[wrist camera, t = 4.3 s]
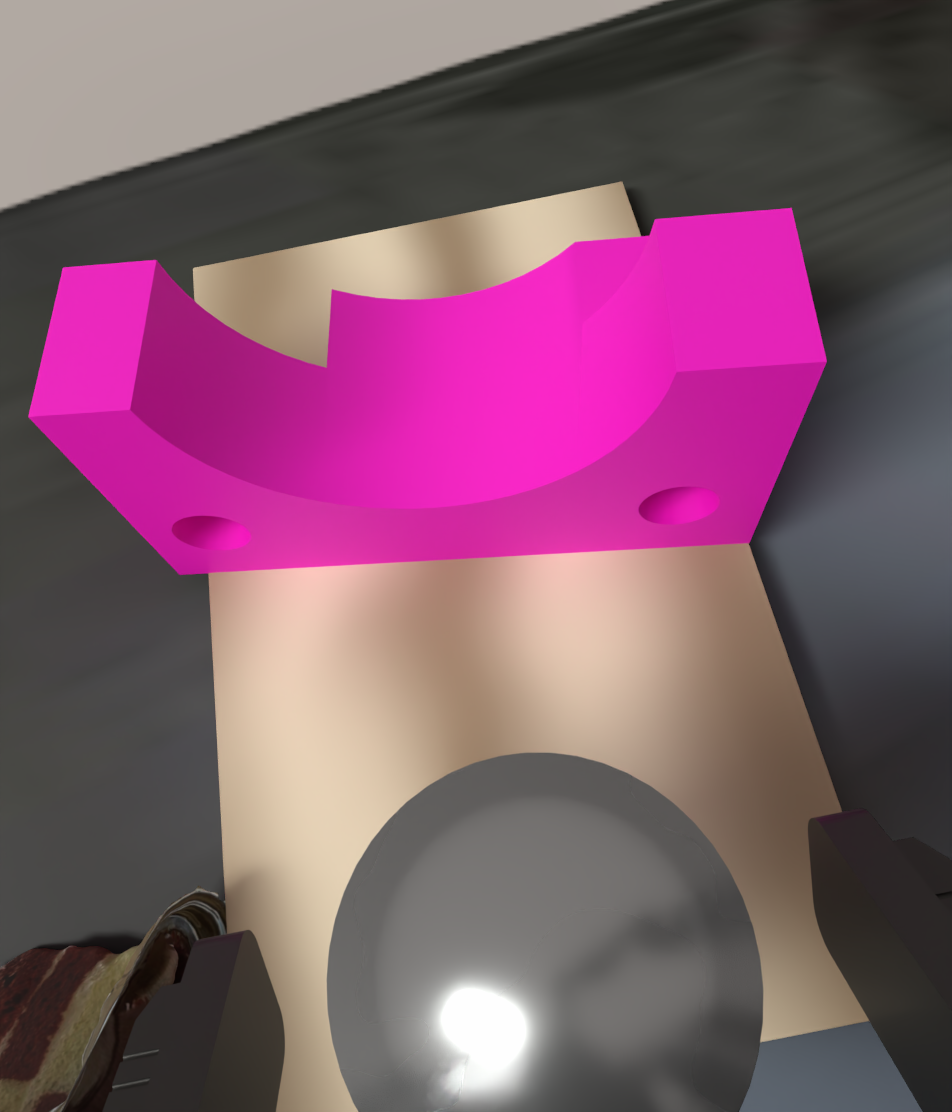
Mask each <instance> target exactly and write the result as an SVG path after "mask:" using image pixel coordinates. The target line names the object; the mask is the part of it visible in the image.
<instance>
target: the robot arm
mask: <svg viewBox="0 0 952 1112" xmlns="http://www.w3.org/2000/svg"><path fill="white" fill-rule="evenodd" d="M808 841H809V854H810V866H811V879H812V892H813V904H814V910H815V915H816V919H817V923H818V926H819V929H820V932H821V935H822V938H823V940H824V943H825V945H826V947H827V949H828V951H829V953H830V955H831V956H832V958H833V960H834V961H835V963H836V965H837V966H838V968H839V970H840V972H841V973H842V975H843V977H844V978H845V980H846V982H847V984H848V985H849V987H850V989H851V990H852V992H853V994H854V995H855V997H856V999H857V1001H858V1002H859V1004H860V1006H861V1007H862V1009H863V1011H864V1012H865V1014H866V1016H867V1018H868V1019H869V1021H870V1023H871V1024H872V1026H873V1028H874V1029H875V1031H876V1033H877V1035H878V1036H879V1038H880V1040H881V1041H882V1043H883V1045H884V1046H885V1048H886V1050H887V1052H888V1053H889V1055H890V1057H891V1058H892V1060H893V1062H894V1063H895V1065H896V1067H897V1069H898V1070H899V1072H900V1074H901V1075H902V1077H903V1079H904V1080H905V1082H906V1084H907V1086H908V1087H909V1089H910V1091H911V1092H912V1094H913V1096H914V1097H915V1099H916V1101H917V1103H918V1104H919V1106H920V1108H921V1109H922V1111H923V1112H952V861H951V860H950V859H949V858H947V857H946V856H944V855H942V854H941V853H939V852H937V851H936V850H934V849H932V848H931V847H929V846H927V845H926V844H924V843H922V842H920V841H919V840H917V839H915V838H914V837H912V838H907V839H902V840H897V841H892V840H891V839H890V838H889V836H888V835H887V834H886V833H885V831H884V830H883V829H882V828H881V826H880V825H879V824H878V823H877V821H876V820H875V819H874V818H873V816H872V815H871V814H870V813H869V812H868V811H867V810H866V809H863V808H859V809H854V810H849V811H844V812H839V813H834V814H829V815H824V816H819V817H814V818H811V819H810V820H809V822H808ZM284 1057H285V1033H284V1024H283V1018H282V1013H281V1010H280V1006H279V1004H278V1001H277V998H276V995H275V992H274V989H273V986H272V983H271V980H270V977H269V974H268V972H267V969H266V966H265V963H264V960H263V957H262V954H261V951H260V948H259V945H258V942H257V940H256V937H255V935H254V934H253V932H252V931H250V930H244V931H239V932H234V933H229V934H224V935H219V936H214V937H209V938H204V939H199V940H197V941H196V942H195V943H194V944H193V946H192V949H191V952H190V955H189V958H188V961H187V964H186V967H185V970H184V974H183V977H182V980H181V983H177V984H172V985H167V986H162V987H161V988H160V989H159V990H158V991H157V993H156V994H155V995H154V997H153V998H152V999H151V1001H150V1002H149V1003H148V1004H147V1006H146V1007H145V1008H144V1010H143V1011H142V1012H141V1014H140V1015H139V1016H138V1017H137V1019H136V1020H135V1023H134V1026H133V1028H132V1031H131V1034H130V1037H129V1039H128V1042H127V1045H126V1048H125V1050H124V1053H123V1062H120V1064H119V1067H118V1070H117V1072H116V1075H115V1078H114V1081H113V1084H112V1087H113V1090H112V1092H109V1095H108V1097H107V1100H106V1103H105V1106H104V1108H103V1111H102V1112H276V1107H277V1101H278V1095H279V1089H280V1083H281V1076H282V1070H283V1064H284Z"/></svg>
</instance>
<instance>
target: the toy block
mask: <svg viewBox="0 0 952 1112" xmlns="http://www.w3.org/2000/svg"><path fill="white" fill-rule="evenodd" d="M826 363H827V360H826V355H825V351H824V347H823V342H822V338H821V334H820V329H819V325H818V321H817V316H816V312H815V308H814V303H813V299H812V295H811V290H810V286H809V281H808V277H807V273H806V268H805V264H804V260H803V255H802V251H801V247H800V242H799V238H798V234H797V229H796V225H795V221H794V216H793V212H792V208H787V209H774V210H762V211H750V212H738V213H726V214H713V215H701V216H689V217H677V218H664V219H655V221H654V224H653V227H652V230H651V233H650V236H641V237H628V238H616V239H603V240H591V241H578V242H574V243H573V244H572V245H570V246H569V247H568V248H566V249H565V250H564V251H563V252H561V253H560V254H559V255H557V256H556V257H554V258H552V259H551V260H549V261H548V262H546V263H544V264H543V265H541V266H539V267H538V268H536V269H534V270H532V271H530V272H528V273H526V274H524V275H522V276H520V277H517V278H515V279H512V280H510V281H507V282H505V283H502V284H499V285H496V286H493V287H490V288H487V289H484V290H480V291H475V292H471V293H467V294H462V295H456V296H449V297H443V298H431V299H388V298H376V297H369V296H362V295H356V294H351V293H347V292H342V291H338V290H334V289H332V292H331V307H330V323H329V338H328V354H327V368H326V367H322V366H318V365H315V364H311V363H307V362H305V361H302V360H299V359H296V358H293V357H290V356H287V355H284V354H282V353H280V352H277V351H275V350H272V349H270V348H268V347H265V346H263V345H261V344H259V343H257V342H255V341H253V340H251V339H249V338H247V337H245V336H244V335H242V334H240V333H239V332H237V331H235V330H234V329H232V328H230V327H229V326H227V325H225V324H224V323H222V322H221V321H220V320H218V319H217V318H215V317H214V316H213V315H211V314H210V313H208V312H207V311H206V310H204V309H203V308H202V307H201V306H200V305H199V304H197V303H196V302H195V301H194V300H193V299H192V298H190V297H189V296H188V295H187V294H186V293H185V292H184V291H183V290H182V289H181V288H180V287H179V286H178V285H177V284H176V283H175V282H174V281H173V280H172V279H171V278H170V276H169V275H168V274H167V273H166V271H165V270H164V269H163V268H162V266H161V265H160V264H159V263H158V261H157V260H150V261H138V262H126V263H114V264H101V265H89V266H77V267H65V268H63V270H62V275H61V279H60V283H59V288H58V292H57V296H56V300H55V305H54V309H53V313H52V318H51V322H50V326H49V331H48V335H47V339H46V343H45V348H44V352H43V356H42V361H41V365H40V369H39V374H38V378H37V382H36V386H35V391H34V395H33V399H32V404H31V408H30V412H29V418H30V419H31V420H32V421H33V422H34V423H35V424H36V425H37V426H38V427H39V429H40V430H41V431H42V432H43V433H44V434H45V435H46V436H47V437H48V438H49V439H50V440H51V441H52V442H53V443H54V444H55V445H56V446H57V447H58V448H59V449H60V450H61V451H62V453H63V454H64V455H65V456H66V457H67V458H68V459H69V460H70V461H71V462H72V463H73V464H74V465H75V466H76V467H77V468H78V469H79V470H80V471H81V472H82V473H83V474H84V475H85V477H86V478H87V479H88V480H89V481H90V482H91V483H92V484H93V485H94V486H95V487H96V488H97V489H98V490H99V491H100V492H101V493H102V494H103V495H104V496H105V497H106V498H107V499H108V501H109V502H110V503H111V504H112V505H113V506H114V507H115V508H116V509H117V510H118V511H119V512H120V513H121V514H122V515H123V516H124V517H125V518H126V519H127V520H128V521H129V522H130V523H131V525H132V526H133V527H134V528H135V529H136V530H137V531H138V532H139V533H140V534H141V535H142V536H143V537H144V538H145V539H146V540H147V541H148V542H149V543H150V544H151V545H152V546H153V547H154V549H155V550H156V551H157V552H158V553H159V554H160V555H161V556H162V557H163V558H164V559H165V560H166V561H167V562H168V563H169V564H170V565H171V566H172V567H173V568H174V569H175V570H176V571H177V573H178V574H179V575H185V574H203V573H217V572H235V571H253V570H271V569H290V568H308V567H326V566H344V565H362V564H380V563H398V562H416V561H435V560H453V559H471V558H489V557H507V556H525V555H543V554H562V553H580V552H598V551H616V550H634V549H652V548H670V547H689V546H707V545H725V544H743V543H750V541H751V538H752V536H753V534H754V531H755V529H756V527H757V524H758V522H759V519H760V517H761V515H762V512H763V510H764V508H765V505H766V503H767V501H768V498H769V496H770V494H771V491H772V489H773V487H774V484H775V482H776V480H777V477H778V475H779V473H780V470H781V468H782V466H783V463H784V461H785V459H786V456H787V454H788V452H789V449H790V447H791V445H792V442H793V440H794V438H795V435H796V433H797V431H798V428H799V426H800V424H801V421H802V419H803V416H804V414H805V412H806V409H807V407H808V405H809V402H810V400H811V398H812V395H813V393H814V391H815V388H816V386H817V384H818V381H819V379H820V377H821V374H822V372H823V370H824V367H825V365H826Z"/></svg>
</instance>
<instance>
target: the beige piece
mask: <svg viewBox="0 0 952 1112" xmlns="http://www.w3.org/2000/svg"><path fill="white" fill-rule="evenodd" d="M628 237H641V234H640V231H639V228H638V226H637V223H636V220H635V217H634V214H633V211H632V208H631V205H630V203H629V200H628V197H627V194H626V191H625V188H624V185H623V183H622V182H618V183H613V184H608V185H603V186H598V187H593V188H588V189H583V190H578V191H573V192H568V193H563V194H559V195H554V196H549V197H544V198H539V199H534V200H529V201H524V202H519V203H514V204H509V205H504V206H499V207H494V208H489V209H484V210H479V211H474V212H469V213H464V214H460V215H455V216H450V217H445V218H440V219H435V220H430V221H425V222H420V223H415V224H410V225H405V226H400V227H395V228H390V229H385V230H380V231H375V232H370V233H365V234H360V235H356V236H351V237H346V238H341V239H336V240H331V241H326V242H321V243H316V244H311V245H306V246H301V247H296V248H291V249H286V250H281V251H276V252H271V253H266V254H261V255H256V256H252V257H247V258H242V259H237V260H232V261H227V262H222V263H217V264H212V265H207V266H202V267H197V268H193V279H194V298H195V302H196V303H197V304H199V305H200V306H201V307H202V308H203V309H204V310H206V311H207V312H208V313H210V314H211V315H213V316H214V317H215V318H217V319H218V320H220V321H221V322H222V323H224V324H225V325H227V326H229V327H230V328H232V329H234V330H235V331H237V332H239V333H240V334H242V335H244V336H245V337H247V338H249V339H251V340H253V341H255V342H257V343H259V344H261V345H263V346H265V347H268V348H270V349H272V350H275V351H277V352H280V353H282V354H284V355H287V356H290V357H293V358H296V359H299V360H302V361H305V362H307V363H311V364H315V365H318V366H322V367H326V368H327V354H328V338H329V323H330V307H331V292H332V289H334V290H338V291H342V292H347V293H351V294H356V295H362V296H369V297H376V298H388V299H431V298H443V297H449V296H456V295H462V294H467V293H471V292H475V291H480V290H484V289H487V288H490V287H493V286H496V285H499V284H502V283H505V282H507V281H510V280H512V279H515V278H517V277H520V276H522V275H524V274H526V273H528V272H530V271H532V270H534V269H536V268H538V267H539V266H541V265H543V264H544V263H546V262H548V261H549V260H551V259H552V258H554V257H556V256H557V255H559V254H560V253H561V252H563V251H564V250H565V249H566V248H568V247H569V246H570V245H572V244H573V243H574V242H578V241H591V240H603V239H616V238H628ZM209 591H210V610H211V630H212V649H213V669H214V688H215V708H216V727H217V747H218V766H219V786H220V805H221V825H222V844H223V864H224V883H225V903H226V922H227V934H229V933H234V932H239V931H244V930H250V931H252V932H253V934H254V935H255V937H256V940H257V942H258V945H259V948H260V951H261V954H262V957H263V960H264V963H265V966H266V969H267V972H268V974H269V977H270V980H271V983H272V986H273V989H274V992H275V995H276V998H277V1001H278V1004H279V1006H280V1010H281V1013H282V1018H283V1024H284V1033H285V1057H284V1064H283V1070H282V1076H281V1083H280V1089H279V1095H278V1101H277V1107H276V1112H739V1110H740V1108H741V1105H742V1103H743V1101H744V1098H745V1096H746V1094H747V1091H748V1089H749V1086H750V1083H751V1079H752V1076H753V1072H754V1068H755V1065H756V1061H757V1057H758V1053H759V1046H760V1042H764V1041H769V1040H775V1039H780V1038H785V1037H790V1036H795V1035H800V1034H805V1033H810V1032H815V1031H820V1030H825V1029H830V1028H835V1027H840V1026H845V1025H851V1024H856V1023H861V1022H866V1021H869V1019H868V1018H867V1016H866V1014H865V1012H864V1011H863V1009H862V1007H861V1006H860V1004H859V1002H858V1001H857V999H856V997H855V995H854V994H853V992H852V990H851V989H850V987H849V985H848V984H847V982H846V980H845V978H844V977H843V975H842V973H841V972H840V970H839V968H838V966H837V965H836V963H835V961H834V960H833V958H832V956H831V955H830V953H829V951H828V949H827V947H826V945H825V943H824V940H823V938H822V935H821V932H820V929H819V926H818V923H817V919H816V915H815V910H814V904H813V892H812V879H811V866H810V854H809V841H808V822H809V820H810V819H811V818H814V817H819V816H824V815H829V814H834V813H839V812H842V810H841V807H840V804H839V801H838V798H837V795H836V792H835V790H834V787H833V784H832V781H831V778H830V775H829V772H828V769H827V767H826V764H825V761H824V758H823V755H822V752H821V749H820V747H819V744H818V741H817V738H816V735H815V732H814V729H813V727H812V724H811V721H810V718H809V715H808V712H807V709H806V706H805V704H804V701H803V698H802V695H801V692H800V689H799V686H798V684H797V681H796V678H795V675H794V672H793V669H792V666H791V664H790V661H789V658H788V655H787V652H786V649H785V646H784V644H783V641H782V638H781V635H780V632H779V629H778V626H777V623H776V621H775V618H774V615H773V612H772V609H771V606H770V603H769V601H768V598H767V595H766V592H765V589H764V586H763V583H762V581H761V578H760V575H759V572H758V569H757V566H756V563H755V560H754V558H753V555H752V552H751V549H750V546H749V543H743V544H725V545H707V546H689V547H670V548H652V549H634V550H616V551H598V552H580V553H562V554H543V555H525V556H507V557H489V558H471V559H453V560H435V561H416V562H398V563H380V564H362V565H344V566H326V567H308V568H290V569H271V570H253V571H235V572H217V573H209Z"/></svg>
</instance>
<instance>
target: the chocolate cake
mask: <svg viewBox="0 0 952 1112" xmlns="http://www.w3.org/2000/svg"><path fill="white" fill-rule="evenodd" d="M224 934H227V922H226V904H225V901H223V902H222V901H220V900H219V898H218V893H214V892H209V891H208V892H207V891H206V890H204V889H203V888H201V887H200V886H198V887H197V888H196V890H195V891H194V892H192V893H190V894H186V895H184V897H183V898H179V899H178V900H177V901H176V902H173V903H171V905H170V906H169V908H168V909H166V910H165V912H164V913H163V914H162V916H161V915H160V916H159V918H158V920H157V922H156V923H155V924H154V925H153V926H152V927H151V928H150V930H149V932H148V933H147V934H146V936H145V937H144V939H143V941H142V942H141V944H140V945H139V946H134V947H132V948H130V949H128V950H127V951H125V952H123V953H121V954H113V953H111V951H110V950H108V949H106V948H103V947H99V946H88V947H76V946H69V947H67V948H66V949H62V950H53V949H47V948H43V949H37V948H34V949H31V950H29V951H27V952H25V953H23V954H21V955H19V956H17V957H16V958H15V959H13V960H12V961H10V962H9V963H7V964H5V965H3V966H1V967H0V1112H102V1111H103V1108H104V1106H105V1103H106V1100H107V1097H108V1095H109V1092H112V1090H113V1087H112V1084H113V1081H114V1078H115V1075H116V1072H117V1070H118V1067H119V1064H120V1062H123V1053H124V1050H125V1048H126V1045H127V1042H128V1039H129V1037H130V1034H131V1031H132V1028H133V1026H134V1023H135V1020H136V1019H137V1017H138V1016H139V1015H140V1014H141V1012H142V1011H143V1010H144V1008H145V1007H146V1006H147V1004H148V1003H149V1002H150V1001H151V999H152V998H153V997H154V995H155V994H156V993H157V991H158V990H159V989H160V988H161V987H162V986H167V985H172V984H177V983H181V980H182V977H183V974H184V970H185V967H186V964H187V961H188V958H189V955H190V952H191V949H192V946H193V944H194V943H195V942H196V941H197V940H199V939H204V938H209V937H214V936H219V935H224Z"/></svg>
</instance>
